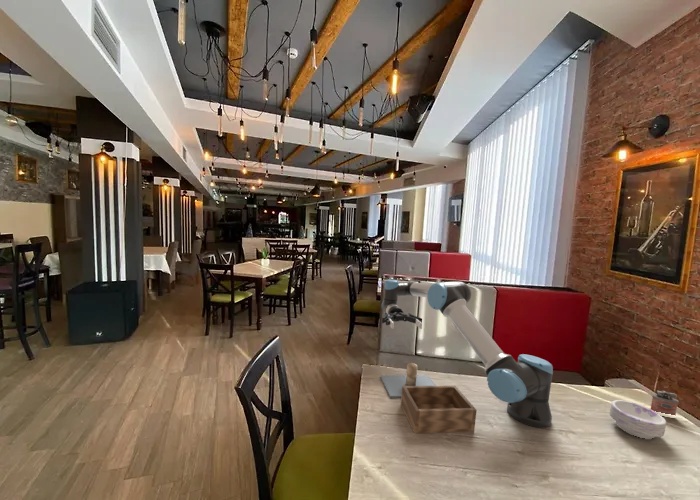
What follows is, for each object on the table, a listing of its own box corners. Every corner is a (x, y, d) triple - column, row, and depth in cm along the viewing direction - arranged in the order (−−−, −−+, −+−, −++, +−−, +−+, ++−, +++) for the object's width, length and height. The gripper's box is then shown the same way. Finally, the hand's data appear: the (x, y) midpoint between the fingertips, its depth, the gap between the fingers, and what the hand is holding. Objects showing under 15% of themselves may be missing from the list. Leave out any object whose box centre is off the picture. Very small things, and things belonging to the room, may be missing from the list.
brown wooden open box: (453, 404, 127) (455, 385, 126) (474, 431, 111) (476, 410, 110) (400, 405, 123) (402, 386, 123) (414, 433, 108) (416, 411, 107)
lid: (427, 377, 148) (429, 356, 147) (443, 398, 131) (445, 374, 130) (380, 378, 145) (382, 356, 144) (390, 399, 128) (392, 375, 127)
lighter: (651, 414, 129) (655, 391, 128) (647, 409, 132) (651, 387, 131) (677, 420, 126) (681, 396, 125) (672, 415, 129) (676, 392, 128)
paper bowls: (660, 431, 118) (664, 411, 117) (665, 452, 107) (669, 430, 106) (608, 412, 128) (611, 394, 127) (607, 430, 116) (610, 410, 116)
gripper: (416, 319, 169) (432, 334, 148) (371, 319, 165) (380, 333, 144) (417, 306, 168) (433, 318, 147) (372, 305, 165) (381, 317, 144)
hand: (407, 326), depth 146 cm, fingers open, 13 cm apart
